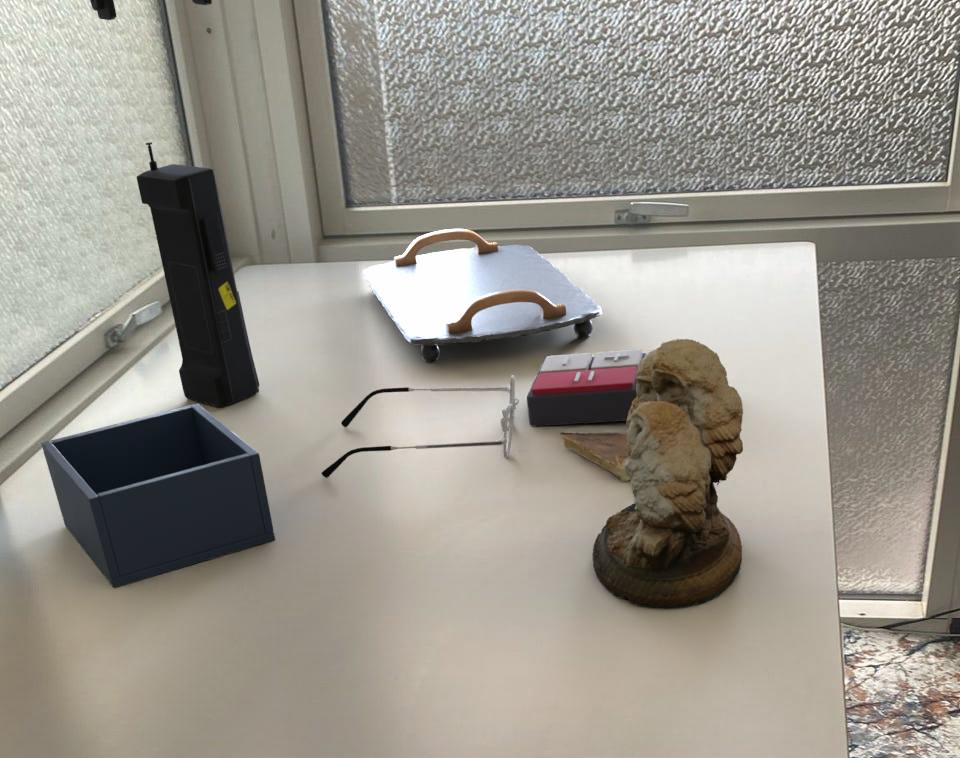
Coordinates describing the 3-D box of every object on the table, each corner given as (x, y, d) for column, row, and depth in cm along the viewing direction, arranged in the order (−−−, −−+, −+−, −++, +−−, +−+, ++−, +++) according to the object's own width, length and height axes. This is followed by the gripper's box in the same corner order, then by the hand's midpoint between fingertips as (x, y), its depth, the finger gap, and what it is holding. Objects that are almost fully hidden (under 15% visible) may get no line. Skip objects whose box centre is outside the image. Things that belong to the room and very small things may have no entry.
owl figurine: (592, 513, 115) (586, 308, 104) (731, 507, 113) (739, 298, 103) (593, 613, 100) (586, 387, 90) (751, 607, 99) (763, 377, 89)
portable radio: (270, 393, 146) (225, 139, 131) (228, 410, 143) (176, 152, 127) (224, 381, 151) (176, 134, 135) (182, 398, 147) (128, 146, 132)
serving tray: (358, 286, 177) (351, 236, 173) (525, 261, 180) (523, 211, 176) (416, 375, 147) (410, 317, 143) (616, 342, 150) (615, 285, 146)
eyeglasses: (518, 474, 123) (514, 420, 120) (319, 484, 125) (311, 432, 122) (524, 411, 135) (521, 362, 132) (344, 422, 137) (336, 373, 134)
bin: (113, 588, 111) (88, 499, 106) (65, 525, 122) (40, 442, 117) (275, 540, 116) (259, 453, 111) (214, 484, 127) (197, 403, 122)
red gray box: (542, 352, 138) (688, 341, 135) (546, 393, 141) (689, 384, 137) (524, 389, 130) (680, 379, 126) (529, 433, 132) (682, 423, 129)
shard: (560, 447, 127) (559, 429, 126) (629, 429, 129) (629, 410, 128) (618, 484, 119) (618, 465, 118) (691, 464, 121) (691, 444, 120)
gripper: (185, -224, 122) (222, -3, 132) (0, -209, 115) (55, 22, 125) (219, -231, 116) (255, 0, 127) (27, -215, 110) (82, 27, 120)
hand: (155, 11), depth 126 cm, fingers open, 9 cm apart
